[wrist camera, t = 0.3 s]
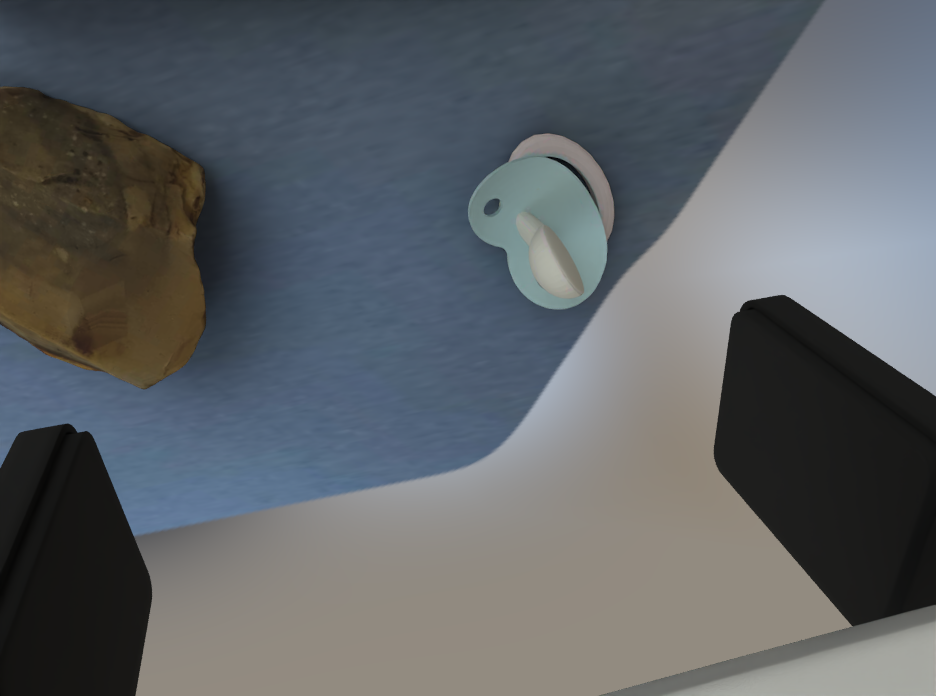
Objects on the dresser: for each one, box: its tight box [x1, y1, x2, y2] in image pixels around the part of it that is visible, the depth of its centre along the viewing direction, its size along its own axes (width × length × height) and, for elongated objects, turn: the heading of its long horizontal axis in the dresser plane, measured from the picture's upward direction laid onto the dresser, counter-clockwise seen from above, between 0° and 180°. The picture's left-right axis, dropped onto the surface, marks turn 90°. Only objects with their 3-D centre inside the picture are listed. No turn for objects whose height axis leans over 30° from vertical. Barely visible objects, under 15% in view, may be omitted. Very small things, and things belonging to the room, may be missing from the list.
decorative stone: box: [0, 86, 206, 389], centre depth 26 cm, size 10×9×4 cm
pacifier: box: [468, 133, 614, 309], centre depth 29 cm, size 7×6×6 cm
